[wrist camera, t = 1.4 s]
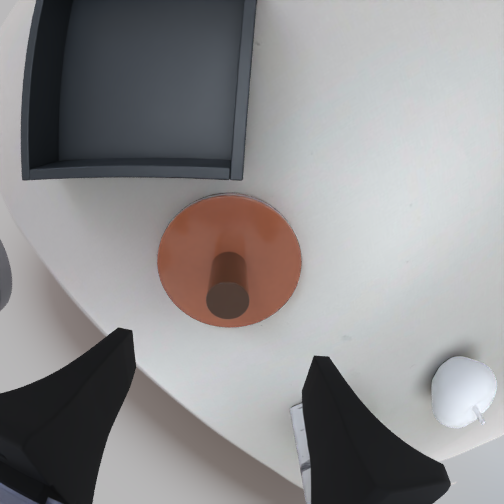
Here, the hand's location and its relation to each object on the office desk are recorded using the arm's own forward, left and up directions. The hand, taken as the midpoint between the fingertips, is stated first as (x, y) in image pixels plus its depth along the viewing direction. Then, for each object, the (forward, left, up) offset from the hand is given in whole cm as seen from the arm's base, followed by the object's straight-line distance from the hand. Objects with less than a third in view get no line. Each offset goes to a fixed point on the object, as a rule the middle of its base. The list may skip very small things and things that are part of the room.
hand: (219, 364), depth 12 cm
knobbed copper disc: (0, 0, -9) cm, 9 cm away
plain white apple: (+22, -11, -10) cm, 26 cm away
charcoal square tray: (-6, +12, -9) cm, 16 cm away
